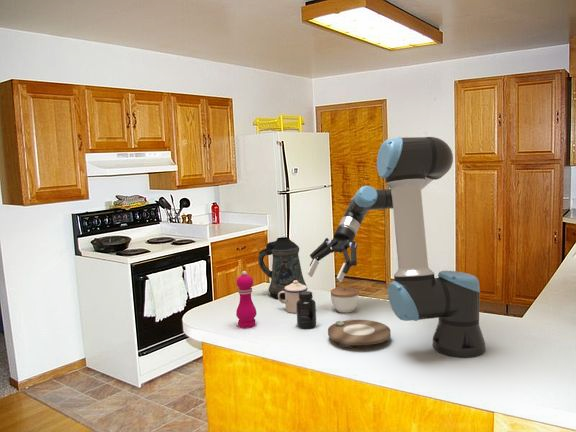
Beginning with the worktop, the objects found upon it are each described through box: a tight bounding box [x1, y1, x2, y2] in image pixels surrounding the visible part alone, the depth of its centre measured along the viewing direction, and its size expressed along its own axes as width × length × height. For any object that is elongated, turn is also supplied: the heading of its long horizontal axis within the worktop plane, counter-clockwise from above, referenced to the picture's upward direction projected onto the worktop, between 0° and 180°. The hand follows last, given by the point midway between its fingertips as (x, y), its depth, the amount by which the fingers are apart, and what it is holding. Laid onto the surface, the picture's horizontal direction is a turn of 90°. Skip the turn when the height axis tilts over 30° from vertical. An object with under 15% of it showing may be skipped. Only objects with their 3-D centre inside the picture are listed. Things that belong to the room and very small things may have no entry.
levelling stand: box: [327, 319, 391, 350], centre depth 161 cm, size 20×20×4 cm
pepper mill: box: [235, 270, 257, 329], centre depth 177 cm, size 7×7×20 cm
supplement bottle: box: [296, 290, 317, 330], centre depth 175 cm, size 7×7×12 cm
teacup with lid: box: [277, 280, 308, 314], centre depth 193 cm, size 12×9×12 cm
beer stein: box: [257, 236, 307, 301], centre depth 213 cm, size 16×19×25 cm
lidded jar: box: [330, 285, 360, 314], centre depth 190 cm, size 11×11×9 cm
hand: (323, 277), depth 181 cm, fingers open, 13 cm apart
